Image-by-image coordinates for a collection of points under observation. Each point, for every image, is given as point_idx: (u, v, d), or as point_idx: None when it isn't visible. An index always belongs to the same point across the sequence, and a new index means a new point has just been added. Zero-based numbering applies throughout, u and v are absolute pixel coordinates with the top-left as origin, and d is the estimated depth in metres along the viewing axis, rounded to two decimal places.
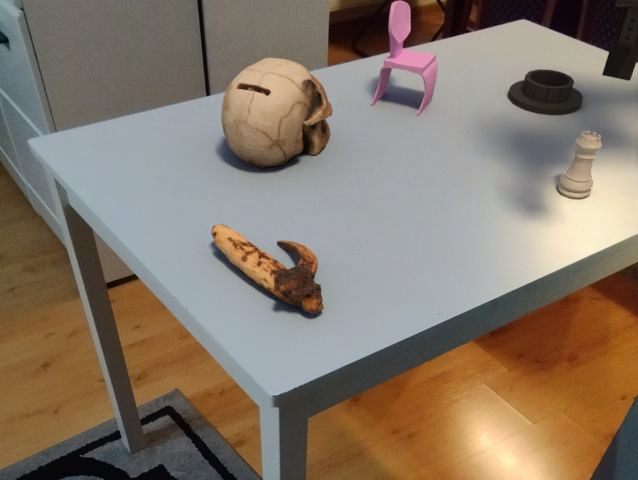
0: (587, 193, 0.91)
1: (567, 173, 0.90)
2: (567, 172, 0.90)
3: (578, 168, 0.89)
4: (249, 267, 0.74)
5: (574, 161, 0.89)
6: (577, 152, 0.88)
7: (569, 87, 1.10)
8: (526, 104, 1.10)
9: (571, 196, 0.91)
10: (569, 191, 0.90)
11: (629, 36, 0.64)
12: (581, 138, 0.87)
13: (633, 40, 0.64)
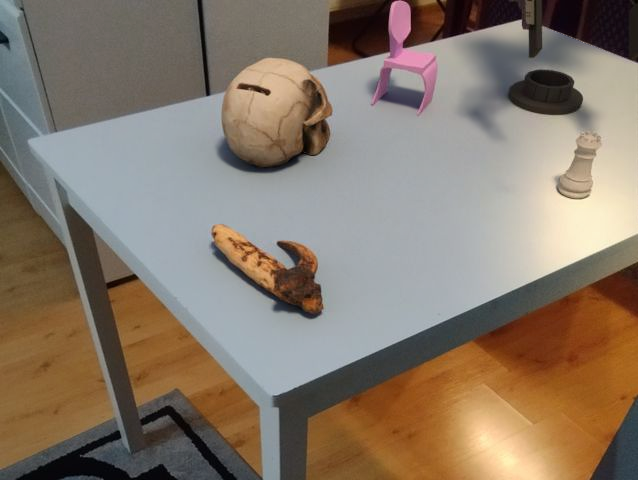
0: (587, 193, 0.91)
1: (567, 173, 0.90)
2: (567, 172, 0.90)
3: (578, 168, 0.89)
4: (249, 267, 0.74)
5: (574, 161, 0.89)
6: (577, 152, 0.88)
7: (569, 87, 1.10)
8: (526, 104, 1.10)
9: (571, 196, 0.91)
10: (569, 191, 0.90)
11: (524, 19, 0.88)
12: (581, 138, 0.87)
13: (525, 19, 0.88)
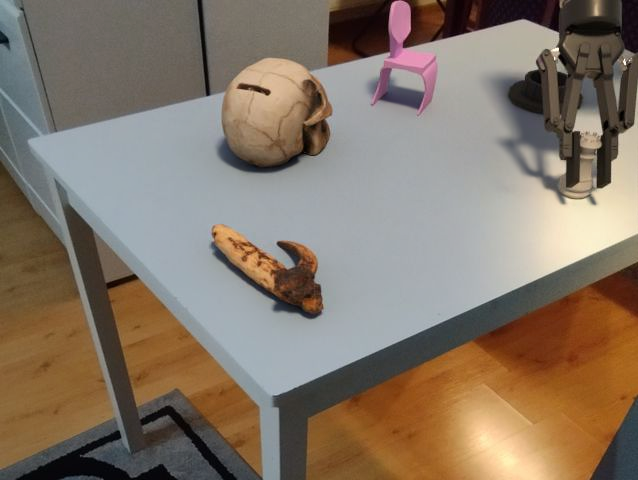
0: (587, 193, 0.91)
1: None
2: None
3: None
4: (249, 267, 0.74)
5: None
6: None
7: None
8: (526, 104, 1.10)
9: (571, 196, 0.91)
10: (569, 191, 0.90)
11: (561, 150, 0.87)
12: (581, 138, 0.87)
13: (562, 151, 0.87)
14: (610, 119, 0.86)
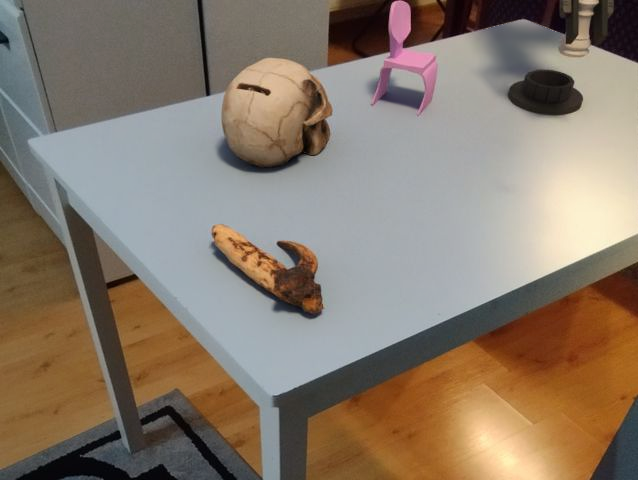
0: (585, 52, 0.98)
1: None
2: None
3: None
4: (249, 267, 0.74)
5: None
6: None
7: (569, 87, 1.10)
8: (526, 104, 1.10)
9: (570, 55, 0.98)
10: (569, 50, 0.98)
11: (562, 7, 0.94)
12: None
13: (562, 8, 0.94)
14: None
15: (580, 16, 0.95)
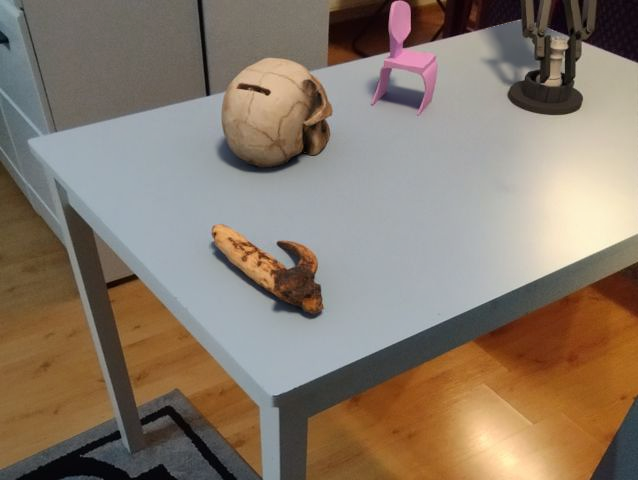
0: None
1: None
2: None
3: None
4: (249, 267, 0.74)
5: None
6: None
7: (569, 87, 1.10)
8: (526, 104, 1.10)
9: None
10: None
11: (536, 52, 1.08)
12: (551, 41, 1.07)
13: (536, 52, 1.07)
14: (575, 26, 1.07)
15: (552, 59, 1.08)
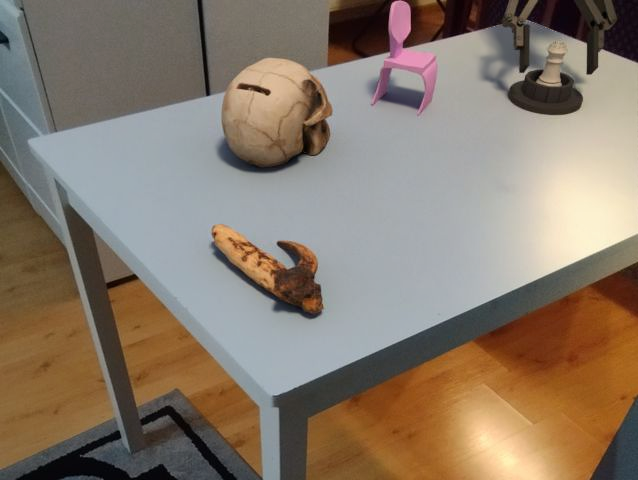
0: None
1: (540, 77, 1.11)
2: (541, 76, 1.12)
3: (549, 71, 1.10)
4: (249, 267, 0.74)
5: (546, 66, 1.10)
6: (548, 58, 1.09)
7: (569, 87, 1.10)
8: (526, 104, 1.10)
9: None
10: None
11: (515, 41, 1.08)
12: (551, 46, 1.08)
13: (515, 41, 1.07)
14: (595, 18, 1.07)
15: (551, 63, 1.09)
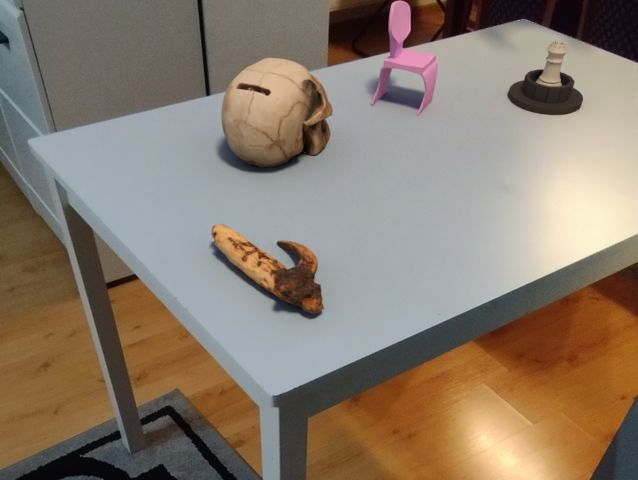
0: None
1: (540, 77, 1.11)
2: (541, 76, 1.12)
3: (549, 71, 1.10)
4: (249, 267, 0.74)
5: (546, 66, 1.10)
6: (548, 58, 1.09)
7: (569, 87, 1.10)
8: (526, 104, 1.10)
9: None
10: None
11: None
12: (551, 46, 1.08)
13: None
14: None
15: (551, 63, 1.09)
